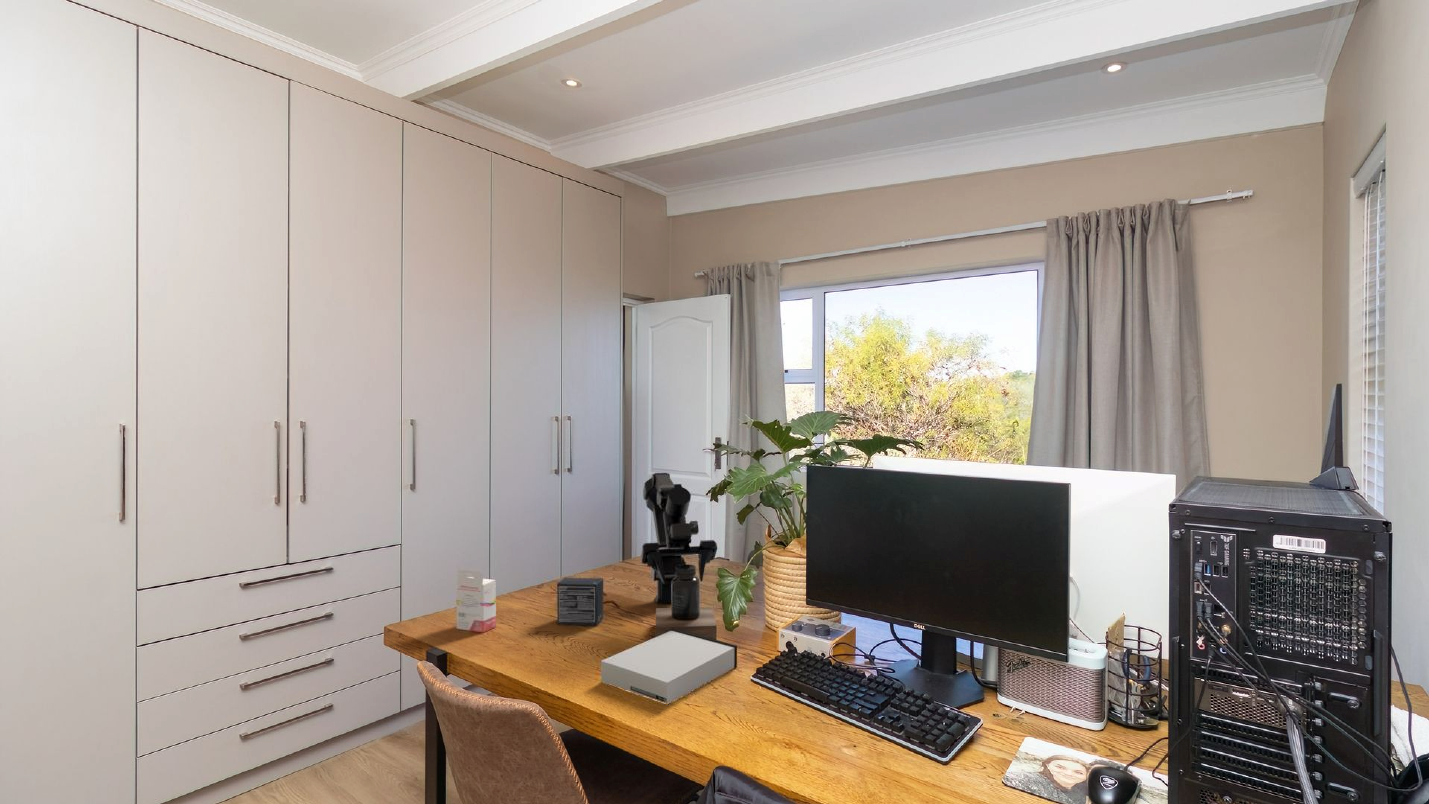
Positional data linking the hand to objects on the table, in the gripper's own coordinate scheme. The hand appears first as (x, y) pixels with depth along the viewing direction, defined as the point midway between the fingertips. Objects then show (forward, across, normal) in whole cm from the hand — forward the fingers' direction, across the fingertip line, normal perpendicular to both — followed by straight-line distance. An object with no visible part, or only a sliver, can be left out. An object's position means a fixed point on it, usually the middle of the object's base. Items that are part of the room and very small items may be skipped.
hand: (683, 581), depth 165 cm
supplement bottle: (+8, 0, +4) cm, 8 cm away
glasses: (-9, -21, +27) cm, 35 cm away
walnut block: (+10, 0, +6) cm, 12 cm away
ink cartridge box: (0, -49, +17) cm, 52 cm away
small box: (0, -24, +17) cm, 29 cm away
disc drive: (+27, -7, -10) cm, 30 cm away
